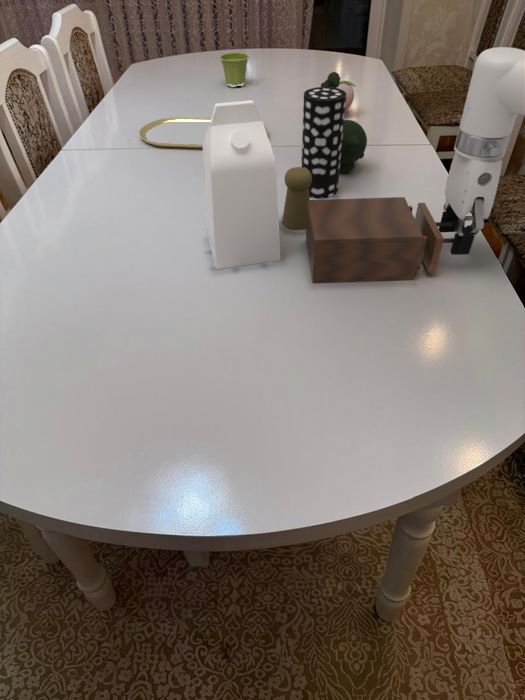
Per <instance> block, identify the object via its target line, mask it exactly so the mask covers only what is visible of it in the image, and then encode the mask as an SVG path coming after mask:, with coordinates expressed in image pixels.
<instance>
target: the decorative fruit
mask: <svg viewBox="0 0 525 700" xmlns="http://www.w3.org/2000/svg"><path fill="white" fill-rule="evenodd" d="M353 87H356V85H355V84H354V83H353V82H352V81H350V80H340V83H339V86H338V87H337V88H338V89H341V90H344V91H345V92H346V104H345V112H346V111H347V110H349V109H350V107H352V103H353V102H354V99H355V98H354V97H355V92H354V88H353Z"/></svg>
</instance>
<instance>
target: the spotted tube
mask: <svg viewBox="0 0 525 700" xmlns="http://www.w3.org/2000/svg"><path fill="white" fill-rule="evenodd" d="M345 104H346V92H345V91H344V90H341V89H338V88H333V87H321V86H317V87H311V88H308V89H307V90H305V91H304V92H303V107H302V137H301V139H302V140H301V163H300V164H301V166H300V167H303V168H306V169H308V170H309V171H310V173H311V175H312V181H311V185H310V186H309V197H310V198H312V199H327V198H328V199H329V198H331V197H333V196H335V195H336V194H337V193H338V191H339V183H340V182H339V181H340V173H341V172H340V160H341V149H342V138H343V126H344V120H345V115H346V114H345V112H346V111H345Z"/></svg>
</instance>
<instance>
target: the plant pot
mask: <svg viewBox="0 0 525 700" xmlns="http://www.w3.org/2000/svg"><path fill="white" fill-rule="evenodd" d="M249 57H250V56H249V54H247V53H245V52H227V53H223V54H221V55H219V59H220V60H221V64H222V67H223V73H224V78H225V84H226V83H227V84H232V85H233V84H234V85H238V84H242V83H244V82H245V83H246V73H247V65H248V60H249ZM227 87H228V88H230V89H231V88H232V89H237V87H235V88H234V87H229V86H227ZM243 87H244V86H241V87H240V88H243Z"/></svg>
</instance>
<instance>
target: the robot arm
mask: <svg viewBox="0 0 525 700" xmlns="http://www.w3.org/2000/svg"><path fill="white" fill-rule="evenodd" d="M469 82H470V83H469V86H468V89H467V90H468V91H467V95H466V99H465V103H464V107H463V111H462V115H461V117H460V118H461V119H460V123H459V127H458V131H457V134H456V138H455V143H454V147H453V150H454V156H453V159H452V161H451V164H450V167H449V172H448V175H447V180H446V184H445V188H444V197H445V202H444V204H443V211H442V215H441V218H440V222H453V220H455V219H459V228H458V233H457V232H456V230H455V229H454V227H453V226H439V227H438V229H439V230H440V232H441V233H454V236H453V238H454V240H453V243H451V247H450V250H449V252H450V254H451V255H452V256H461V255H462V256H463V255H469V254H470V252H471V250H472V246H473V242H474V240H475V237H476V236H477V234H478V233H479V232H480V231H481V230H483V229H484V226H485V220H488V219H489V218H490V215H491V212H492V209H493V206H494V202H495V198H496V195H497V191H498V186H499V182H500V178H501V173H502V172H501V171H502V165H503V159H502V158H503V157H504V156H505V154H506V151H507V148H508V144H509V142H510V139H511V135H512V132H513V130H514V126H515V123H516V120H517V116H518V115H522V116H525V50H524V49H522V48H516V47H510V46H509V47H507V46H499V47H498V46H496V47H491V48H487V49H484V50H483V51H481V53H480V54H479V55H478V57H477V58H476V60H475V63H474V67H473V70H472V75H471V78H470V81H469ZM468 214H471V215H468ZM466 221H471V224H469V225H465V224H466ZM464 226H465V228H464Z"/></svg>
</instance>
